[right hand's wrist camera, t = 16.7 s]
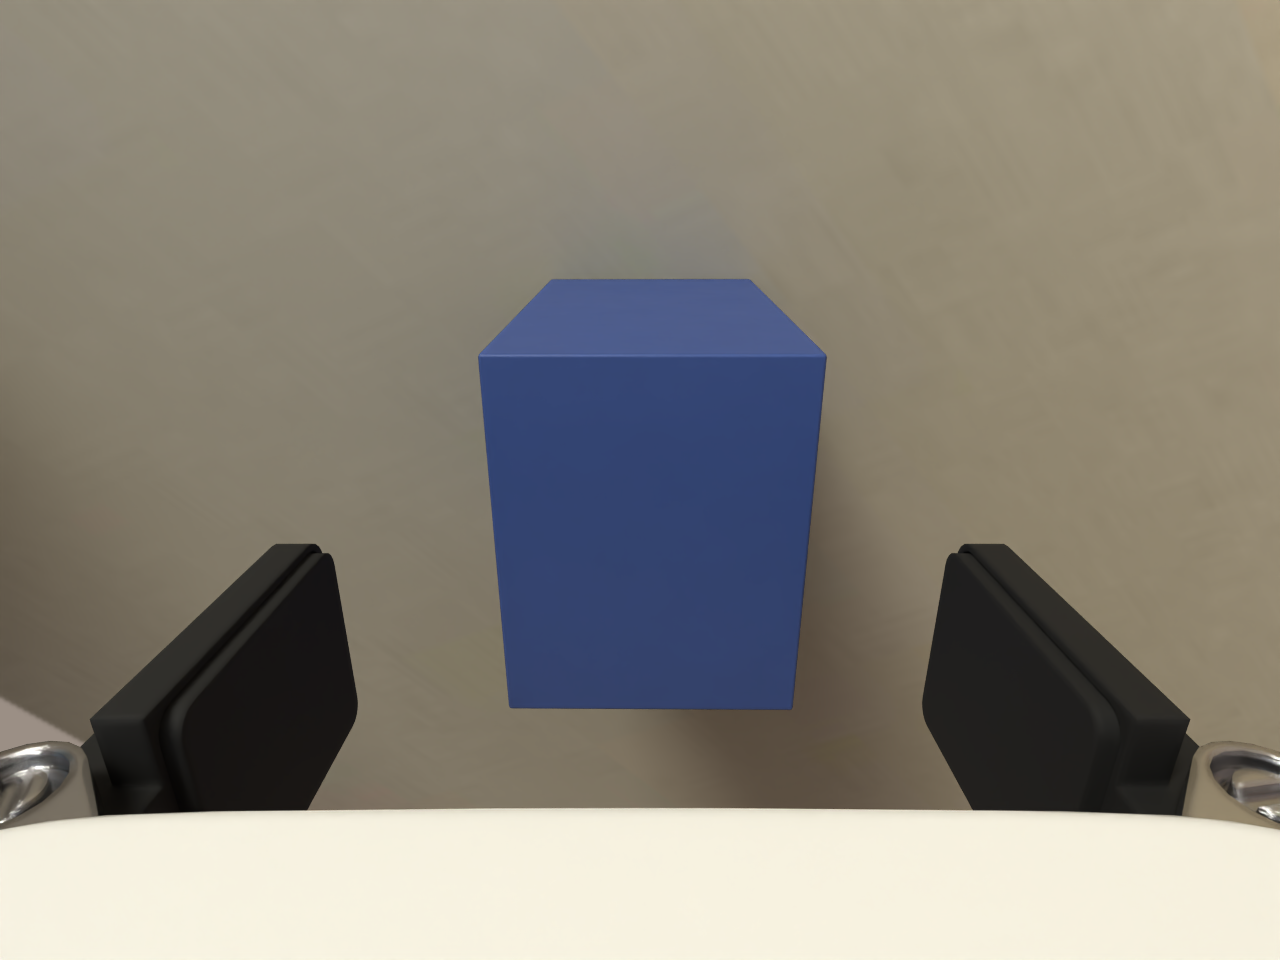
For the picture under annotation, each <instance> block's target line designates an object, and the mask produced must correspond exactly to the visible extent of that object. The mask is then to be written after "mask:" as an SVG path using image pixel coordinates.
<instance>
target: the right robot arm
mask: <svg viewBox="0 0 1280 960" xmlns="http://www.w3.org/2000/svg"><path fill="white" fill-rule="evenodd" d="M357 708H358V701H357V693H356V687H355V682H354V676H353V670H352V664H351V658H350V653H349V647H348V641H347V635H346V629H345V624H344V618H343V612H342V606H341V600H340V595H339V589H338V583H337V577H336V571H335V565H334V561H333V558H332V557H331V555H330V554H329V553H322V551H321V549H320V548H319V546H317V545H316V544H275V545H274V546H272V547H271V548H270V549H269V550H268V551H267V552H266V553H265V554H264V555H262V556H261V557H260V558H259V559H258V560H257V561H256V562H255V563H254V564H253V565H252V566H251V567H250V568H249V569H248V570H247V571H246V572H245V573H244V574H242V575H241V576H240V577H239V578H238V579H237V580H236V581H235V582H234V583H233V584H232V585H231V586H230V587H229V588H228V589H227V590H226V591H225V592H224V593H222V594H221V595H220V596H219V597H218V598H217V599H216V600H215V601H214V602H213V603H212V604H211V605H210V606H209V607H208V608H207V609H206V610H205V611H203V612H202V613H201V614H200V615H199V616H198V617H197V618H196V619H195V620H194V621H193V622H192V623H191V624H190V625H189V626H188V627H187V628H186V629H185V630H183V631H182V632H181V633H180V634H179V635H178V636H177V637H176V638H175V639H174V640H173V641H172V642H171V643H170V644H169V645H168V646H167V647H166V648H164V649H163V650H162V651H161V652H160V653H159V654H158V655H157V656H156V657H155V658H154V659H153V660H152V661H151V662H150V663H149V664H148V665H147V666H146V667H144V668H143V669H142V670H141V671H140V672H139V673H138V674H137V675H136V676H135V677H134V678H133V679H132V680H131V681H130V682H129V683H128V684H127V685H126V686H124V687H123V688H122V689H121V690H120V691H119V692H118V693H117V694H116V695H115V696H114V697H113V698H112V699H111V700H110V701H109V702H108V703H107V704H105V705H104V706H103V707H102V708H101V709H100V710H99V711H98V712H97V713H96V714H95V715H94V716H93V717H92V718H91V719H90V722H91V725H92V727H93V730H94V734H93V735H92V736H91V737H90V738H89V739H88V740H87V741H86V742H85V743H84V744H83V745H82V746H81V747H79V746H76V745H74V744H72V743H69V742H58V741H47V742H39V743H32V744H26V745H23V746H19V747H16V748H12V749H9V750H5V751H2V752H0V960H1280V752H1278V751H1275V750H1271V749H1268V748H1264V747H1261V746H1257V745H1254V744H1248V743H1241V742H1234V741H1222V742H1211V743H1208V744H1206V745H1204V746H1201V747H1199V746H1198V745H1197V744H1196V743H1195V742H1194V741H1193V740H1192V739H1191V738H1190V737H1189V736H1188V735H1187V734H1186V730H1187V727H1188V725H1189V722H1190V719H1189V718H1188V717H1187V716H1186V715H1185V714H1184V713H1183V712H1182V711H1181V710H1180V709H1179V708H1178V707H1177V706H1176V705H1175V704H1173V703H1172V702H1171V701H1170V700H1169V699H1168V698H1167V697H1166V696H1165V695H1164V694H1163V693H1162V692H1161V691H1160V690H1159V689H1158V688H1157V687H1156V686H1154V685H1153V684H1152V683H1151V682H1150V681H1149V680H1148V679H1147V678H1146V677H1145V676H1144V675H1143V674H1142V673H1141V672H1140V671H1139V670H1138V669H1137V668H1136V667H1134V666H1133V665H1132V664H1131V663H1130V662H1129V661H1128V660H1127V659H1126V658H1125V657H1124V656H1123V655H1122V654H1121V653H1120V652H1119V651H1118V650H1117V649H1115V648H1114V647H1113V646H1112V645H1111V644H1110V643H1109V642H1108V641H1107V640H1106V639H1105V638H1104V637H1103V636H1102V635H1101V634H1100V633H1099V632H1098V631H1097V630H1095V629H1094V628H1093V627H1092V626H1091V625H1090V624H1089V623H1088V622H1087V621H1086V620H1085V619H1084V618H1083V617H1082V616H1081V615H1080V614H1079V613H1078V612H1077V611H1075V610H1074V609H1073V608H1072V607H1071V606H1070V605H1069V604H1068V603H1067V602H1066V601H1065V600H1064V599H1063V598H1062V597H1061V596H1060V595H1059V594H1058V593H1056V592H1055V591H1054V590H1053V589H1052V588H1051V587H1050V586H1049V585H1048V584H1047V583H1046V582H1045V581H1044V580H1043V579H1042V578H1041V577H1040V576H1039V575H1038V574H1036V573H1035V572H1034V571H1033V570H1032V569H1031V568H1030V567H1029V566H1028V565H1027V564H1026V563H1025V562H1024V561H1023V560H1022V559H1021V558H1020V557H1019V556H1018V555H1016V554H1015V553H1014V552H1013V551H1012V550H1011V549H1010V548H1009V547H1008V546H1006V545H1005V544H964V545H963V546H961V548H960V549H959V551H958V553H951V554H950V555H949V557H948V558H947V561H946V565H945V571H944V577H943V583H942V589H941V594H940V600H939V606H938V612H937V618H936V624H935V629H934V635H933V641H932V647H931V653H930V658H929V664H928V670H927V676H926V682H925V687H924V693H923V701H922V708H923V715H924V719H925V722H926V724H927V726H928V728H929V730H930V732H931V734H932V736H933V738H934V739H935V741H936V743H937V745H938V747H939V749H940V750H941V752H942V754H943V756H944V758H945V760H946V761H947V763H948V765H949V767H950V769H951V771H952V772H953V774H954V776H955V778H956V780H957V782H958V784H959V785H960V787H961V789H962V791H963V793H964V795H965V796H966V798H967V800H968V802H969V804H970V806H971V807H972V809H973V810H866V809H756V808H493V809H406V810H313V811H307V809H308V807H309V806H310V804H311V802H312V800H313V798H314V796H315V795H316V793H317V791H318V789H319V787H320V785H321V784H322V782H323V780H324V778H325V776H326V774H327V772H328V771H329V769H330V767H331V765H332V763H333V761H334V760H335V758H336V756H337V754H338V752H339V750H340V749H341V747H342V745H343V743H344V741H345V739H346V738H347V736H348V734H349V732H350V730H351V728H352V726H353V724H354V722H355V719H356V715H357Z"/></svg>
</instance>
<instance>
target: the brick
mask: <svg viewBox="0 0 1280 960" xmlns="http://www.w3.org/2000/svg"><path fill="white" fill-rule="evenodd" d="M826 359H827V357H826V354H825V353H824V352H823V351H822V350H821V349H820V348H819V347H818V346H817V345H816V344H815V343H814V342H813V341H812V340H811V339H810V338H809V337H808V336H807V335H806V334H805V333H804V332H802V331H801V330H800V329H799V328H798V327H797V326H796V325H795V324H794V323H793V322H792V321H791V320H790V319H789V318H788V317H787V316H786V315H785V314H784V313H783V312H782V311H781V310H780V309H779V308H778V307H777V306H776V305H775V304H774V303H773V302H772V301H771V300H770V299H769V298H768V297H767V296H766V295H765V294H764V293H763V292H762V291H761V290H760V289H759V288H758V287H757V286H756V285H755V284H754V283H753V282H752V281H751V280H749V279H599V280H551V281H550V282H549V283H548V284H547V285H546V286H545V287H544V288H543V289H542V290H541V291H540V292H539V293H538V294H537V295H536V296H535V297H534V298H533V299H532V300H531V301H530V302H529V303H528V304H527V305H526V306H525V308H524V309H523V310H522V311H521V312H520V313H519V314H518V315H517V316H516V317H515V318H514V319H513V320H512V321H511V322H510V323H509V324H508V325H507V326H506V327H505V328H504V329H503V330H502V331H501V332H500V333H499V334H498V335H497V336H496V337H495V339H494V340H493V341H492V342H491V343H490V344H489V345H488V346H487V347H486V348H485V349H484V350H483V351H482V352H481V353H480V354H479V356H478V361H479V372H480V383H481V394H482V406H483V417H484V428H485V439H486V451H487V462H488V473H489V485H490V496H491V507H492V518H493V530H494V541H495V552H496V563H497V575H498V586H499V597H500V609H501V620H502V631H503V642H504V654H505V665H506V676H507V687H508V699H509V706H510V708H557V709H738V710H791V709H792V707H793V697H794V687H795V677H796V667H797V656H798V646H799V636H800V626H801V615H802V605H803V595H804V585H805V574H806V564H807V554H808V544H809V533H810V523H811V513H812V503H813V492H814V482H815V472H816V462H817V451H818V441H819V431H820V421H821V410H822V400H823V390H824V379H825V369H826Z"/></svg>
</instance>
